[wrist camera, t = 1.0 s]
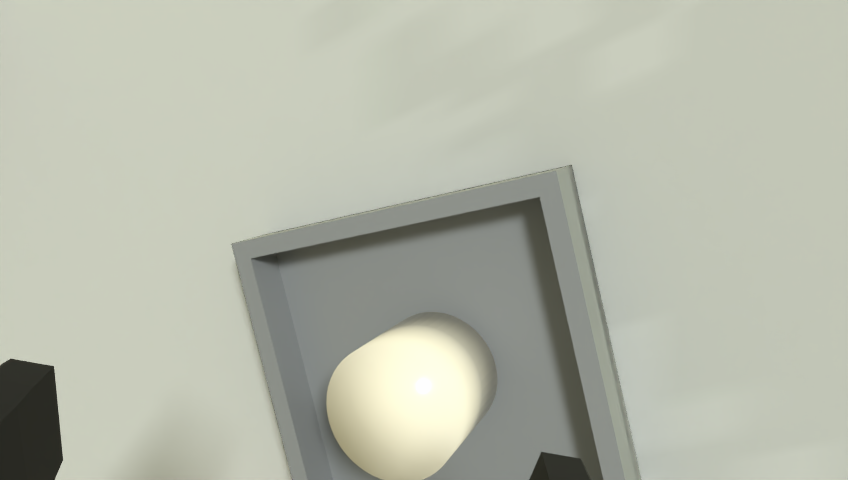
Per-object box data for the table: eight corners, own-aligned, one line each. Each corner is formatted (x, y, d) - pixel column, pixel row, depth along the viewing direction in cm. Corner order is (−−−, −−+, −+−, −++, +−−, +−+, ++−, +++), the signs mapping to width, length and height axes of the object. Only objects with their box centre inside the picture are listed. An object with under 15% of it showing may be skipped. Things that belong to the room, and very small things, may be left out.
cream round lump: (510, 426, 24) (472, 479, 20) (397, 436, 25) (345, 486, 22) (481, 303, 23) (438, 335, 20) (368, 320, 25) (311, 354, 22)
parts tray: (650, 520, 23) (642, 556, 21) (341, 529, 28) (313, 559, 26) (571, 164, 22) (556, 170, 20) (266, 234, 27) (231, 243, 25)
